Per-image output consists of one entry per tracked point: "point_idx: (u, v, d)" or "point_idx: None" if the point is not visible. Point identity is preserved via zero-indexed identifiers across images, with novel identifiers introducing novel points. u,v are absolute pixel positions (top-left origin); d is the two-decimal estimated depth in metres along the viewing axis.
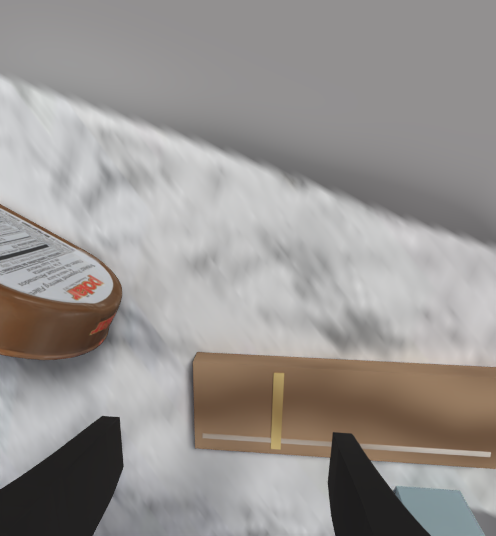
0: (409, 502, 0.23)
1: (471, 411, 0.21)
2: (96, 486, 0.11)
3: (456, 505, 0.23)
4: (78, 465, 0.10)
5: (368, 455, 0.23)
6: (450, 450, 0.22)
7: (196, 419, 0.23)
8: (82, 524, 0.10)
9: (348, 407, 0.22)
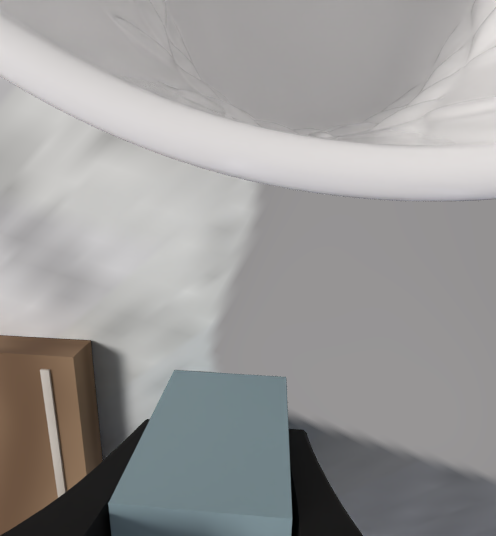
0: None
1: None
2: None
3: None
4: None
5: None
6: (51, 425, 0.13)
7: None
8: None
9: None
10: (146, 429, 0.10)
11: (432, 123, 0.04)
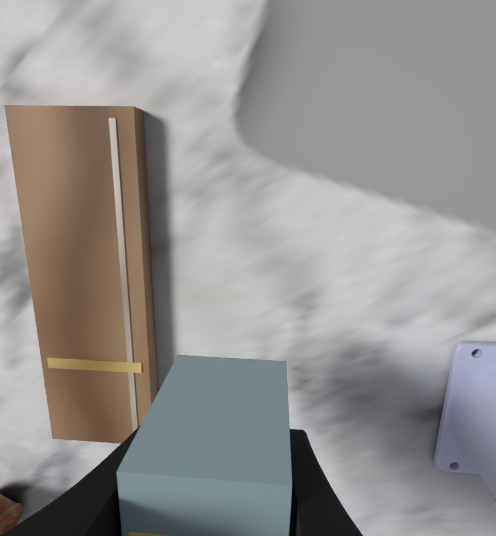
0: None
1: (56, 152, 0.17)
2: None
3: None
4: None
5: (136, 267, 0.19)
6: (114, 169, 0.17)
7: (117, 441, 0.22)
8: None
9: (76, 292, 0.19)
10: (151, 407, 0.11)
11: None
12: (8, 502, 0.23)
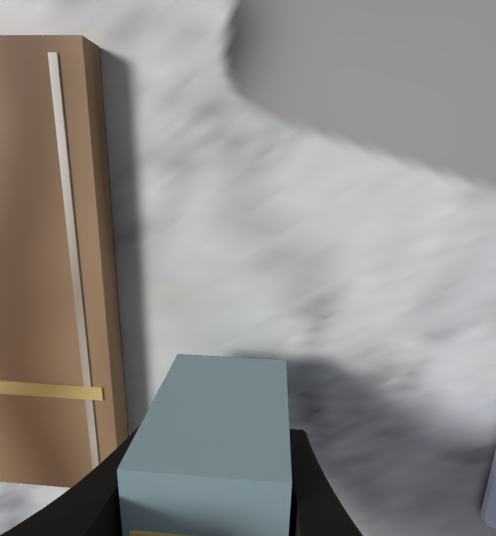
0: None
1: None
2: None
3: None
4: None
5: (91, 261, 0.14)
6: (59, 126, 0.13)
7: None
8: None
9: (14, 294, 0.15)
10: (151, 405, 0.11)
11: None
12: None
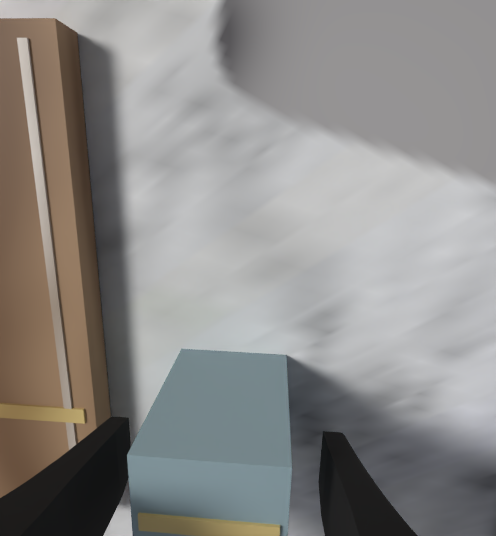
0: None
1: None
2: (106, 487, 0.11)
3: None
4: (89, 466, 0.10)
5: (70, 272, 0.13)
6: (31, 121, 0.11)
7: None
8: (93, 525, 0.10)
9: None
10: (158, 397, 0.11)
11: None
12: None
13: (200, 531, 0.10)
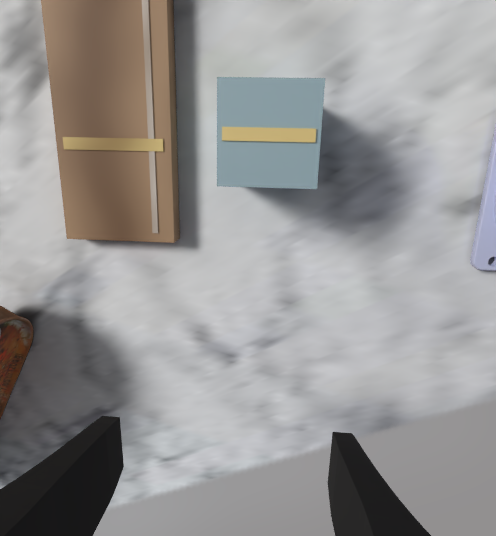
0: None
1: None
2: (96, 486, 0.11)
3: None
4: (78, 465, 0.10)
5: (159, 19, 0.17)
6: None
7: (135, 238, 0.20)
8: (82, 524, 0.10)
9: (95, 54, 0.18)
10: None
11: None
12: None
13: (263, 137, 0.14)
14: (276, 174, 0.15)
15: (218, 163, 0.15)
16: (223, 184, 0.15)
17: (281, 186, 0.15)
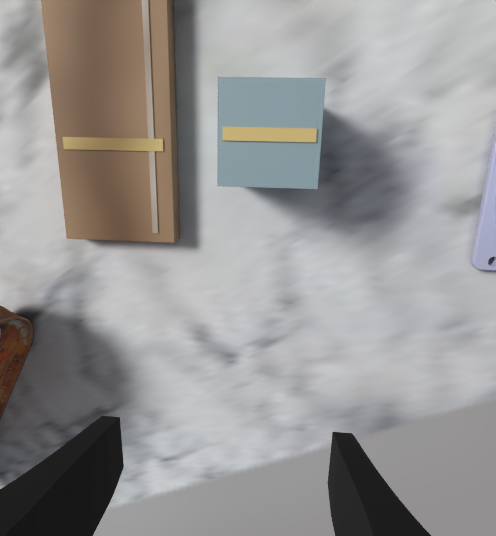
0: None
1: None
2: (96, 486, 0.11)
3: None
4: (78, 465, 0.10)
5: (159, 19, 0.17)
6: None
7: (135, 238, 0.20)
8: (82, 524, 0.10)
9: (95, 54, 0.18)
10: None
11: None
12: None
13: (263, 137, 0.14)
14: (277, 174, 0.15)
15: (219, 163, 0.15)
16: (224, 184, 0.15)
17: (282, 186, 0.15)
